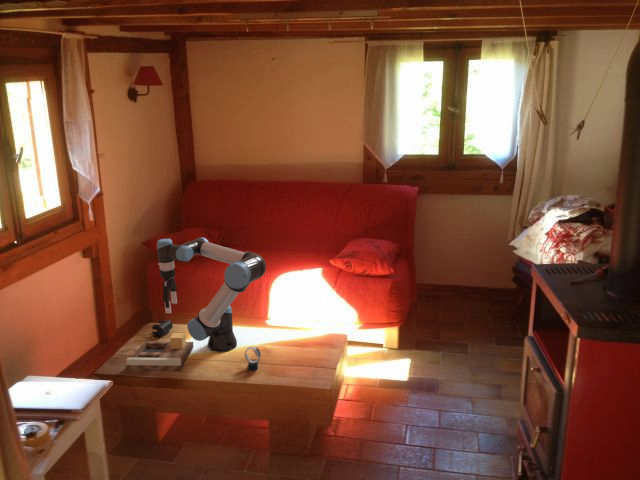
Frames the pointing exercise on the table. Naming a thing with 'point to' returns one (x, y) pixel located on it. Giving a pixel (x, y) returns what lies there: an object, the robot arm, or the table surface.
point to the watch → (253, 363)
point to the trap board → (159, 357)
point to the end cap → (162, 328)
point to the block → (177, 340)
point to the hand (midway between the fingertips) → (171, 308)
